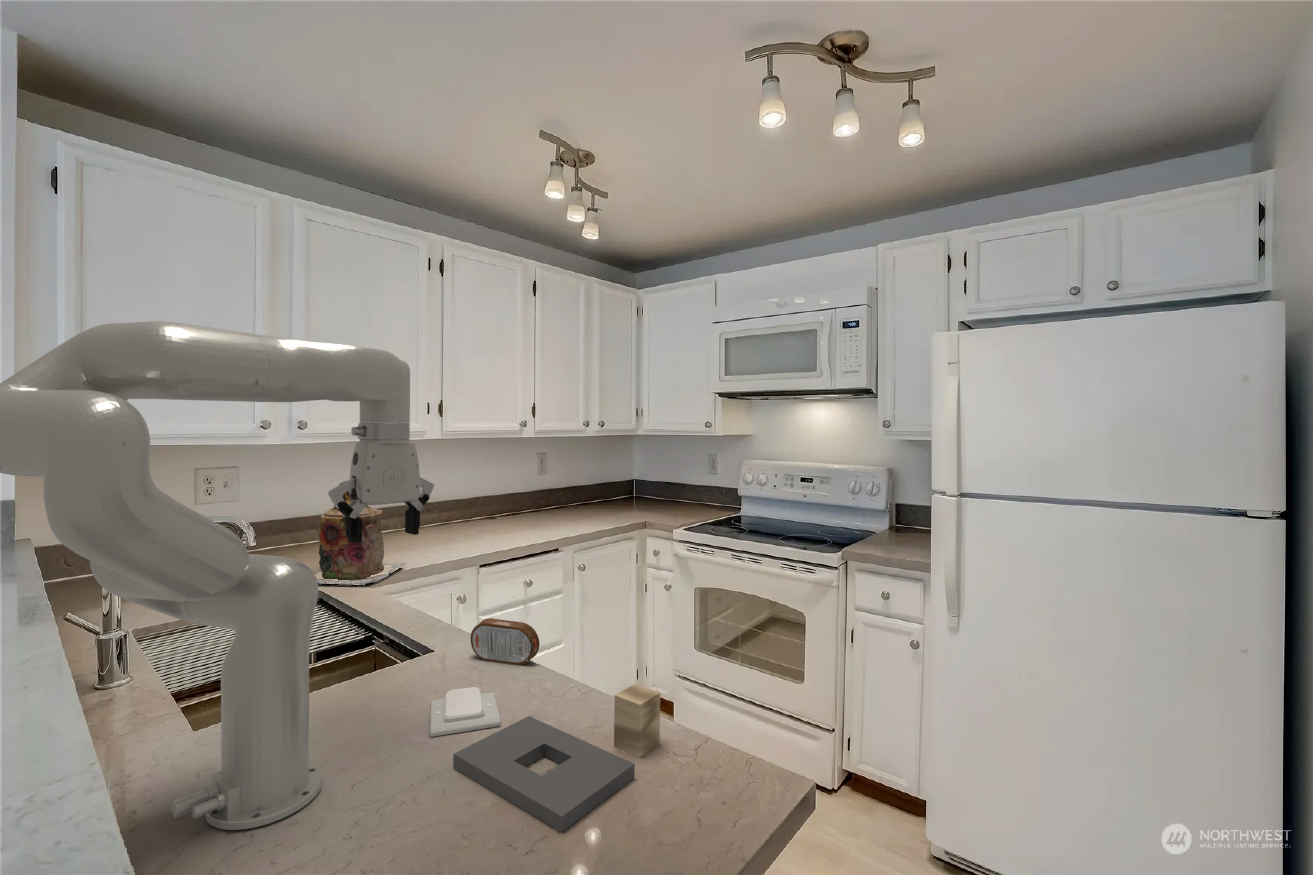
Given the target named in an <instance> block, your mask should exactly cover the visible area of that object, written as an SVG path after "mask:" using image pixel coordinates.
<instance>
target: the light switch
mask: <svg viewBox="0 0 1313 875" xmlns="http://www.w3.org/2000/svg"><path fill="white" fill-rule="evenodd" d="M481 692H482V691H481V690H480V689H479V687H476V686H475V687H474V686H473V687H465V688H463V687H462V688H456V689H451V690H449V691H447V692H446V693H445V696H444V698H442V699H433V700H431V702H430V721H429V737H432V738H433V737H437V736H438V737H439V736H444V735H446V736H447V735H451V734H457V733H458V734H459V733H464V732H465V733H466V732H470V731H477V730H484V729H489V728H495V727H496V728H497V727H501V726H502V720H501V715H500V711H499V707H498V706H499V705H498V702H497V699H496V698H497V697H496V694H495V692H485V693H481Z"/></svg>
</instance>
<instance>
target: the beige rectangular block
mask: <svg viewBox="0 0 1313 875" xmlns="http://www.w3.org/2000/svg"><path fill="white" fill-rule="evenodd" d="M613 712H614V717H613V718H614V721H613V723H614V725H613V726H614V728H613V729H614V730H613V733H614V734H613V747H614V748H616V749H618V750H620V751H621V752H622V751H623V752H625V753H627V754H630V755H632V756H634V757H636V758H639V759H640V758H642V757H643V756H645V755H646V754H648V753H649V752H651V751H652V750H653V749H654V748H656V747H657V746H658V745H660V743H661V742H660V737H661V736H660V735H661V734H660V732H661V727H660V726H661V724H660V723H661V692H660V691H656V690H653V689H651V688H648V687H645V686H642V685H639V684H636V683H634V684H633V685H630V686H628V687H627V688H625V689H623V690H622V691H620V692H618V693H615V694H614V710H613ZM651 749H652V750H651ZM641 756H642V757H641Z"/></svg>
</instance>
